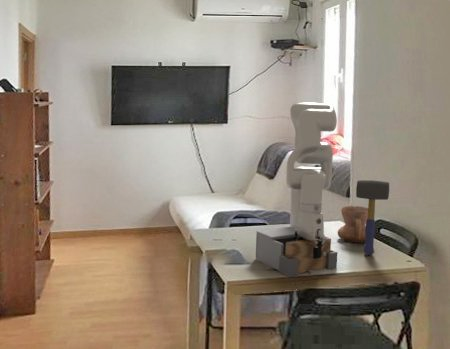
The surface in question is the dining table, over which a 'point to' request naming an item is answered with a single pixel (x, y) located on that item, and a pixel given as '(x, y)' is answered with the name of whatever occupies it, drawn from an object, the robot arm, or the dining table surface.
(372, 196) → the rubber mallet
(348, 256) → the dining table surface
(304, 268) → the tan wooden plank
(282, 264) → the cabinet
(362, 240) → the ceramic jug
